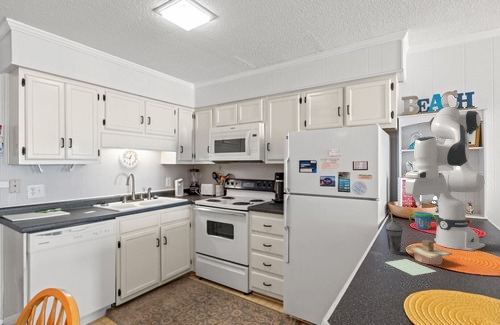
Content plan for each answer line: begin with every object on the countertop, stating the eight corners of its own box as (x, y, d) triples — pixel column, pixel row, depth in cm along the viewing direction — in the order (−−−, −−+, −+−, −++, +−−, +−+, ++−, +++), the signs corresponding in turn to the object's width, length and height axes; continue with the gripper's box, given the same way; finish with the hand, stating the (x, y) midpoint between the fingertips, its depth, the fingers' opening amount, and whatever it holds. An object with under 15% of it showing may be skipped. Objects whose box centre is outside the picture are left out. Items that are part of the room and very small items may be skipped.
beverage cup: (405, 256, 119) (405, 213, 119) (388, 255, 120) (387, 213, 120) (399, 251, 126) (399, 210, 126) (383, 250, 127) (383, 210, 127)
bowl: (425, 255, 119) (425, 247, 120) (447, 263, 110) (447, 254, 110) (409, 258, 117) (409, 249, 117) (430, 266, 107) (430, 257, 107)
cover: (425, 246, 121) (425, 236, 121) (452, 254, 109) (451, 243, 109) (405, 249, 117) (405, 238, 117) (430, 258, 106) (430, 246, 106)
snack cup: (440, 229, 166) (440, 213, 166) (433, 232, 159) (433, 215, 160) (413, 225, 178) (413, 210, 178) (406, 227, 172) (406, 212, 172)
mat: (406, 259, 115) (405, 259, 115) (436, 272, 101) (436, 271, 101) (384, 263, 111) (384, 262, 111) (413, 276, 98) (413, 275, 98)
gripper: (436, 172, 119) (437, 202, 119) (402, 173, 113) (403, 205, 113) (450, 172, 113) (451, 204, 113) (415, 174, 107) (415, 207, 107)
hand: (427, 204), depth 113 cm, fingers open, 8 cm apart
